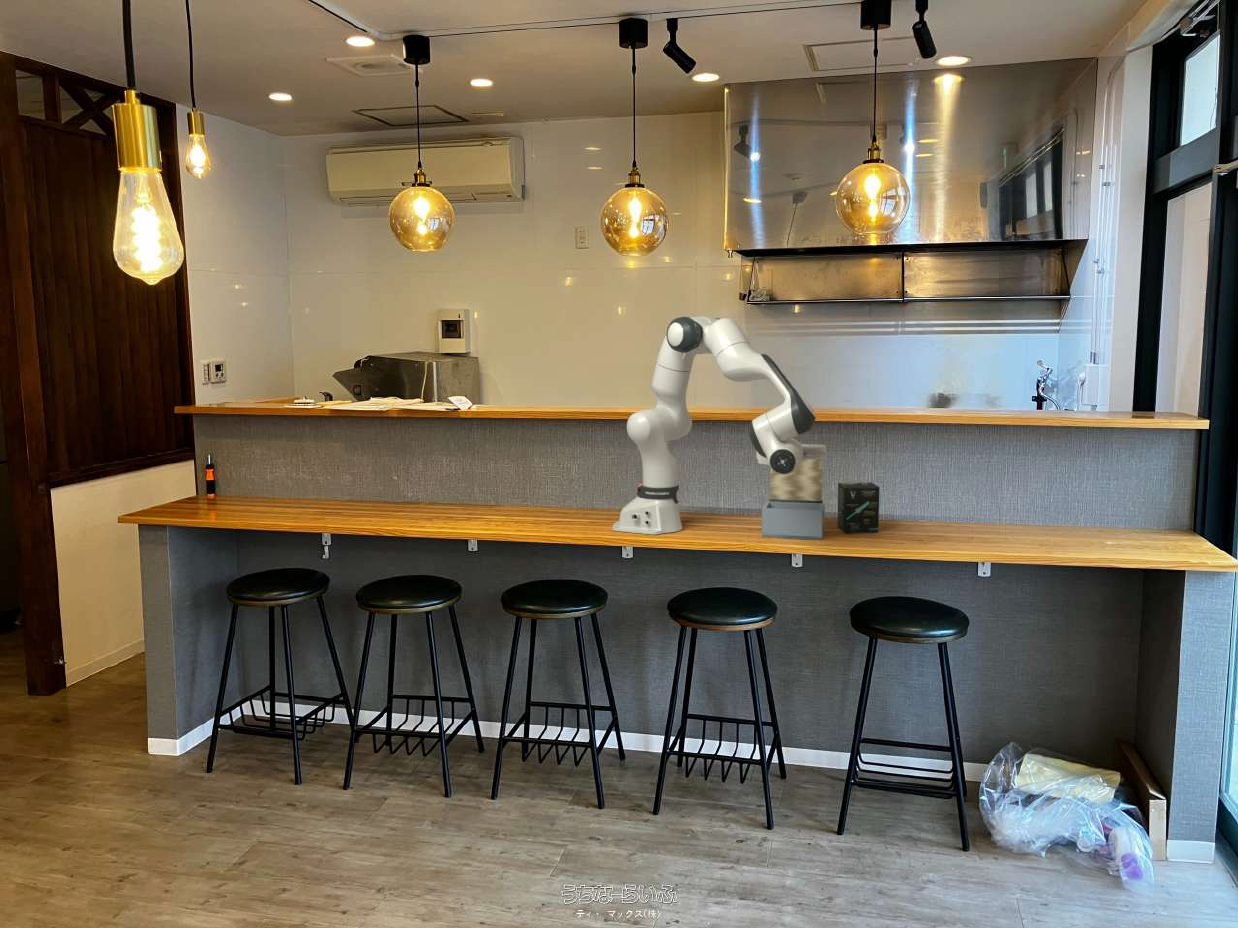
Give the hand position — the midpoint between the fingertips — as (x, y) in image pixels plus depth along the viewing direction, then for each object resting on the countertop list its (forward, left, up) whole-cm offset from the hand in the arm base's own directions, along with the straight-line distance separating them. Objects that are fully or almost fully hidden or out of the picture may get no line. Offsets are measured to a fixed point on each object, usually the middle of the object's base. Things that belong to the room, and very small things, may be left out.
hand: (792, 447), depth 286 cm
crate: (0, +6, -28) cm, 29 cm away
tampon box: (+19, +17, -28) cm, 38 cm away
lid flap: (0, +13, -19) cm, 23 cm away
